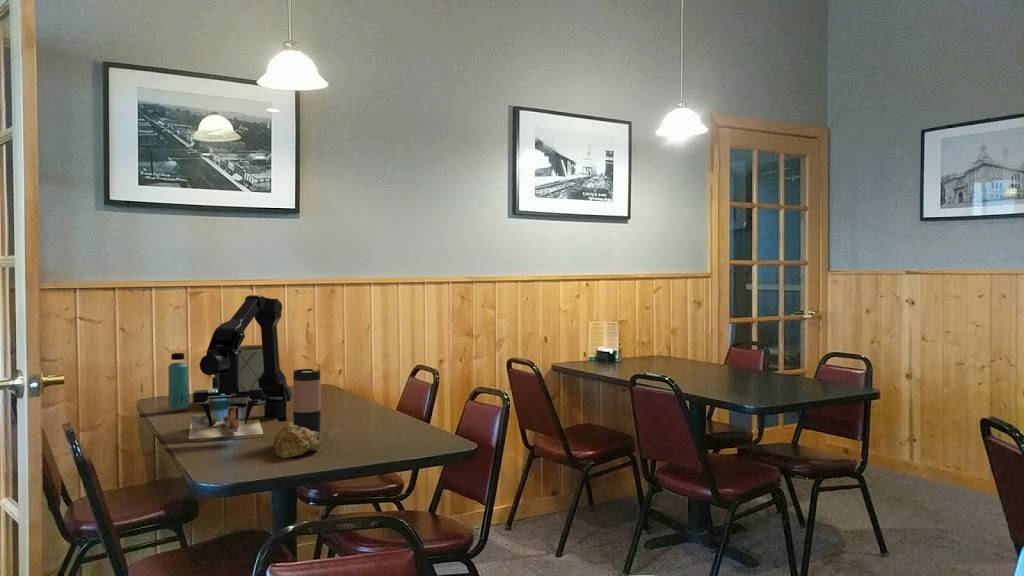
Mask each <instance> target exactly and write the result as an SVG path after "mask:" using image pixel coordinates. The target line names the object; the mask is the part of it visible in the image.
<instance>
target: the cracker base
mask: <svg viewBox="0 0 1024 576" xmlns="http://www.w3.org/2000/svg"><path fill="white" fill-rule="evenodd" d="M188 435H189V436H188V439H189V440H196V439H210V438H224V437H239V436H240V437H241V436H254V435H264V432H263V428H262V425H261V421H260V419H251V420H250V419H248V420H247V423H246V424H245V420H239V428H238V432H232V433H229V432H228V431H227V429H226V427H225V426H224V424H223V422H222V421H219V422H218V421H216V424H215V425H214V426H212V427H209V421H208V418H207V415H206V413H205V414H203V413H197V414H191V423H190V426H189V433H188ZM251 439H252V440H253V439H264V436H261V437H248V438H246V437H245V438H243V440H251ZM237 440H240V441H241V440H242V438H233V439H232V438H231V439H217V440H216V439H215V440H202V441H188V444H195V443H209V442H211V443H212V442H224V441H225V442H226V441H237Z"/></svg>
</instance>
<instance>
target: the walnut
mask: <svg viewBox="0 0 1024 576" xmlns="http://www.w3.org/2000/svg"><path fill="white" fill-rule="evenodd" d="M211 417H212V426H214V425H215V424H216V422H217V418H216V416H215V415H213V414H211ZM212 426H210V423H209V427H212Z"/></svg>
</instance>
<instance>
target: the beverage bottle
mask: <svg viewBox="0 0 1024 576" xmlns="http://www.w3.org/2000/svg"><path fill="white" fill-rule="evenodd" d="M170 360H173V361H174V360H175V361H180V360H186V359H185V352H184V353H183V352H174V353H171V359H170ZM188 367H189V365H188V364H187V363H185V362H172V363H170V364H169V365H168V366H167V368H168V373H167V374H168V387H167V388H168V389H167V390H168V391H167V394H168V408H169V409H172V410H173V409H174V410H181V409H182V410H183V409H187V408H188V407H189V401H190V396H189V368H188Z"/></svg>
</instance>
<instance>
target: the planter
mask: <svg viewBox="0 0 1024 576" xmlns="http://www.w3.org/2000/svg"><path fill="white" fill-rule="evenodd" d="M239 349H240V350H241V351H242V353H240V354H239V391H248V388H257V387H259V383H258V379H259V378H260V377H261V376H262V374H263V372H264V365H263V351H262V344H248V345H247V344H243V345H242V344H241V345H240V346H239ZM247 398H248V397H242V398H225V400H226V403H227V404H228V405H232V404H233V405H234V404H236V405H237V404H239V405H240V404H241V405H242V404H244V405H245V404H247ZM265 404H266V401H261V400H258V403H255V404H254V405H259V406H262V405H265Z"/></svg>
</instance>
